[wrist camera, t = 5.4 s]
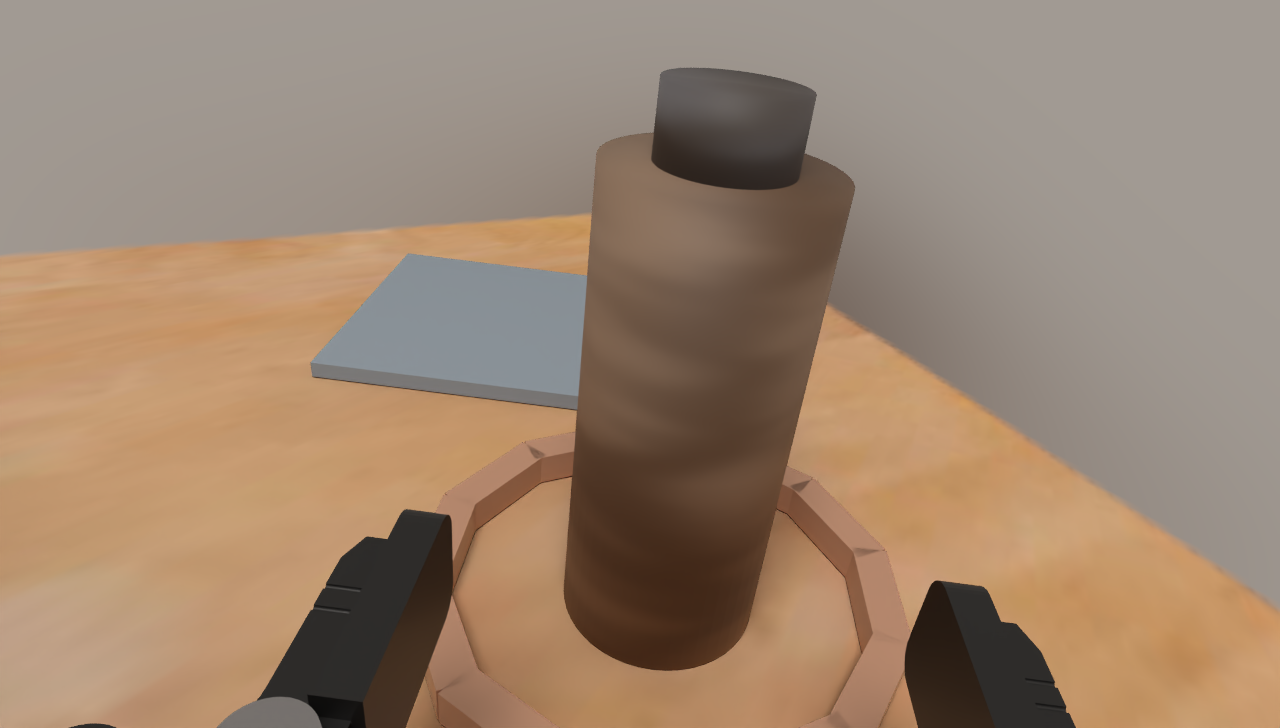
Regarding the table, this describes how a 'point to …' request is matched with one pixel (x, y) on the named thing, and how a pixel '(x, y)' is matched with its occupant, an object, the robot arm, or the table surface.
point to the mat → (466, 332)
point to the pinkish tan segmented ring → (503, 724)
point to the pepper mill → (695, 360)
